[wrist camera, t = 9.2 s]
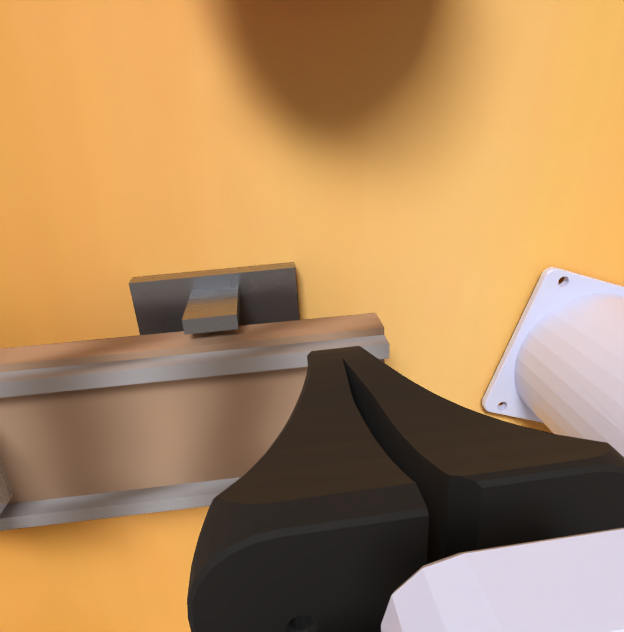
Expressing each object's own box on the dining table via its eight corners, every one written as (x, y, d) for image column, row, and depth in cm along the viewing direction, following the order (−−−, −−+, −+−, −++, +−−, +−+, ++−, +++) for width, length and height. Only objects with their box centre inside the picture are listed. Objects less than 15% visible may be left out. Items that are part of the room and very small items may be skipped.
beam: (375, 312, 20) (397, 350, 17) (377, 455, 23) (396, 511, 20) (-231, 370, 19) (-333, 424, 15) (-149, 515, 21) (-221, 586, 18)
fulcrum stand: (293, 262, 22) (302, 292, 18) (308, 451, 26) (318, 508, 22) (132, 277, 21) (108, 311, 18) (174, 468, 25) (161, 529, 22)
